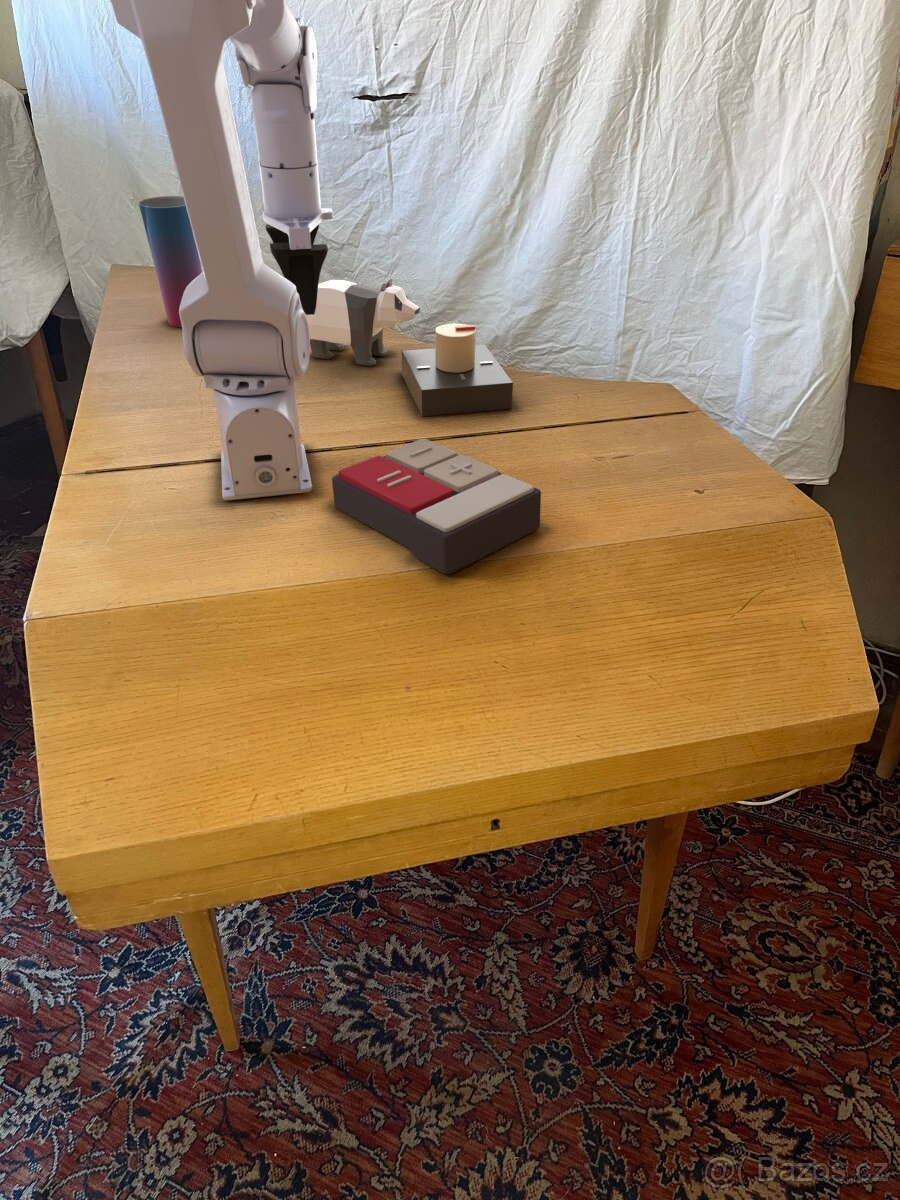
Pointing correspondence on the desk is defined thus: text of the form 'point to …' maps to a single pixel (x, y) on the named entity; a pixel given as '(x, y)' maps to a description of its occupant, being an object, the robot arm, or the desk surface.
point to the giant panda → (356, 318)
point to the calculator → (438, 503)
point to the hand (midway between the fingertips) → (301, 303)
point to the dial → (455, 347)
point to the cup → (171, 249)
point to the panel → (456, 384)
